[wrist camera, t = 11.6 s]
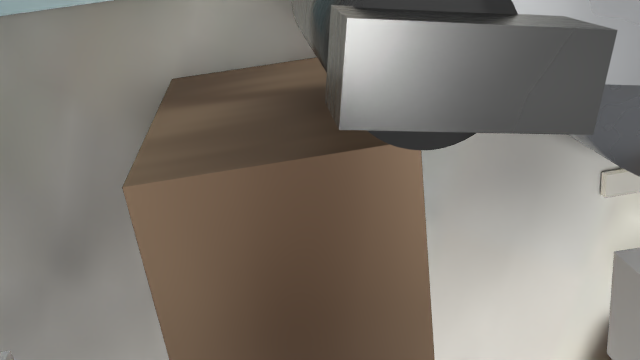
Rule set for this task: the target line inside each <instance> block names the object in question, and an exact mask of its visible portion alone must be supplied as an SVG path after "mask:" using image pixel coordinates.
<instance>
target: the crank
mask: <svg viewBox="0 0 640 360" xmlns="http://www.w3.org/2000/svg"><path fill="white" fill-rule="evenodd" d="M292 7H293V13H294V17H295V20H296V23H297V25H298V27H299V29H300V30H301V32H302V34H303V35H304V37H305V39H306V40H307V42H308V43H309V45H310V47H311V48H312V50H313V52H314V53H315V55H316V56H317V58H318V60H319V61H320V63H321V65H322V66H323V68H324V69H325V71H326V73H327V78H326V94H325V103H326V105H327V107H328V109H329V111H330V113H331V115H332V117H333V119H334V121H335V123H336V125H337V127H338V129H339V130H367V131H368V132H369V133H371V134H372V135H373V136H375V137H376V138H378V139H380V140H382V141H384V142H385V143H388V144H390V145H393V146H396V147H399V148H404V149H409V150H434V149H439V148H444V147H447V146H451V145H454V144H456V143H459V142H461V141H463V140H465V139H467V138H469V137H471V136H472V135H474V134H476V133H520V134H571V135H593V134H594V130H595V125H596V121H597V117H598V112H599V108H600V104H601V99H602V95H603V91H604V87H605V84H610V85H640V0H292Z"/></svg>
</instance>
